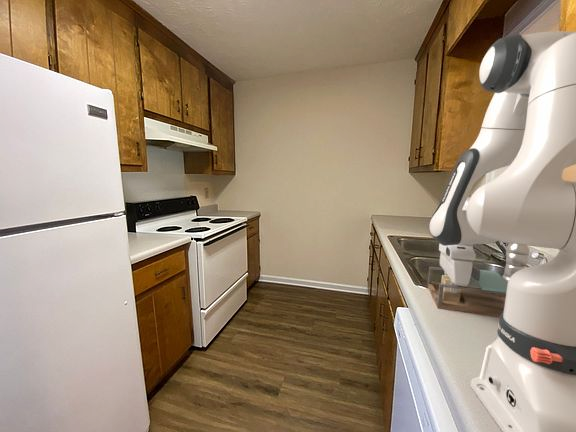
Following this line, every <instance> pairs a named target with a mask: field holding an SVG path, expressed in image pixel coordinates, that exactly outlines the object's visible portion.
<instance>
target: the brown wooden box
mask: <svg viewBox="0 0 576 432" xmlns="http://www.w3.org/2000/svg"><path fill="white" fill-rule="evenodd" d="M434 271H443V272H445V271H444V270H443V268H442V267H437V266H436V267H435V266H429V268H428V278H427V279H428V280H427V289H428V291H429V294H430V295H431V298H432V299H433V302H434V303H435V305H436V309H439V310H447V311H450V312H451V311H453V312H460V313H466V314H472V315H480V316H487V317H491V318H498V319H500V315H501V314H502V313H503V312H504V305H505V300H504V299H503V298H502V297H501V296H500V295H502V296H506V293H505V292H497V291H489V290H482V289H481V288H480V287H479V288H478V287H474V286H473V287H470V286H456V285H448V284H441V282H439V283H433V273H434ZM444 287H447V288H455V289H461V292H460V301H459V303H455V302H448V301H443V300H442V299H443V290H444Z"/></svg>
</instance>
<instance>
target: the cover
mask: <svg viewBox="0 0 576 432" xmlns="http://www.w3.org/2000/svg"><path fill="white" fill-rule="evenodd" d="M470 280H472V281H473V282H474V283H475V284H476V285H477V286H478V287H479V288H481V289H482V290H489V291H497V292H505V293H506V292H507V285H508V281H507V280H505V279H504V278H503V276H501V274H499V273H498V272H497V271H494V270H489V269H488V270H487V269H479V268H478V267H476V266H475V264H473V266H472V273H471V278H470Z"/></svg>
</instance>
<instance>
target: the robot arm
mask: <svg viewBox="0 0 576 432" xmlns="http://www.w3.org/2000/svg"><path fill="white" fill-rule="evenodd" d="M478 75H479V76H478V77H479V78H478V79H479V80H478V81H479V85H480V87H481V88H482V89H483V90H484V91H486V92H491V93H494V94H493V96H492V98H491V99H490V102H489V105H488V107H487V109H486V111H485V115H484V118H483V121H482V124H481V128H480V131H479V134H478V136H477V138H476V140H475V141H474V143H473V144H472V145H471V146H470V148H469V149H467V150H465V151H464V152H463V153H462V154H461V155H460V156H459V158H458V160H457V162H456V164H455V167H454V169H453V170H452V173H451V175H450V178H449V179H448V182H447V184H446V187H445V190H444V192H443V194H442V197H441V199H440V201H439V204H438V206H437V208H436V209H435V210H434V212H433V214H432V216H431V217H430V220H429V223H428V231H429V234H430V235H431V237H432V238H433V240H435V241H436V242H437V243H438V244H439V245H438V250H439V252H440V254H439V255H440V256H439V266H440V268H443V270H444V271H443V272H444V275H446V276H448V277H449V278H450V279H451V285H456V286H459V285H460V286H465V287H468V286H469V284H470V281H471V273H472V266H473V265H474V264H473V261H475V260H476V258H477V255H476V252H475V250H474V245H491V244H496V243H497V242H502V243H505V244H509V243H510V244H519V245H527V246H528V247H529V246H530V247H537V248H544V249H552V250H553V249H554V250H559V251H558V253H557V254H556V255H555V257H553V258H552V259H551V260H548V261H547V262H543V263H542V264H537V265H531V266H527V267H525V268H523V269H521V270H519V271H517V272H515V273H514V274H513V275H512V276H511V277H510V278H509V280H508V285H507V292H506V295H505V300H504V301H505V305H504V312H503V313H502V314H501V315H500V318H498V321H497V337H496V339H494V341H493V342H492V343H490V344H488V346H486V349H485V353H484V356H483V359H482V360H483V361H482V365H481V369H480V373H479V376H476V377H473V378H471V379H470V380H471V381H470V384H469V385H470V388H471V389H472V390H473V391H474V393H475V395H477V397H478V398H479V400H480V402H481V403H482V404H483V405H484V407H485V408H486V410H487V411H488V413H489V414H490V415H491V417H492V418H493V420H494V421H495V422H496V423H497V425H498V426H499V428H500V429H501V431H502V432H576V181H570V180H564V179H563V173H564V169H566V168H569V167H572V166H575V165H576V30H573V31H572V30H571V31H570V30H569V31H567V30H566V31H564V30H563V31H562V30H549V31H542V32H541V31H540V32H532V33H528V34H523V35H521V34H520V33H516V34H512V35H507V36H504V37H501V38H498V39H497V40H495V42H494V43H492V44H491V46H490V47H489V48H488V49H487V52H486V53H485V55H484V57H483V58H482V60H481V63H480V66H479V71H478ZM505 167H507V168H506V169H505V170H504V171H502V173H500V174H499V175H497V176H496V177H495V178H493V179H492V180H490V181H488V182H485V183H483V184H482V185H481V186H479V187H478V188H477V189H476V190H475V191H474V192H473V193H472V195H470V193H471V191H472V188H473V186H474V184H476V182H477V181H478V180H479V179H480V178H481V177H484V176H485V175H487V174H488V173H491V172H493V171H496V170H499V169H502V168H505ZM449 290H450V292H451V293H457V289H455V288H450V289H449Z"/></svg>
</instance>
